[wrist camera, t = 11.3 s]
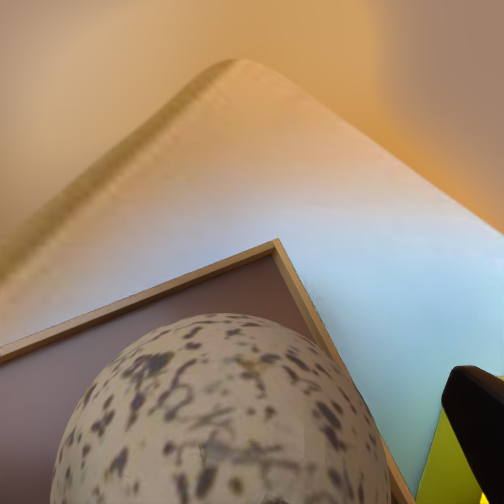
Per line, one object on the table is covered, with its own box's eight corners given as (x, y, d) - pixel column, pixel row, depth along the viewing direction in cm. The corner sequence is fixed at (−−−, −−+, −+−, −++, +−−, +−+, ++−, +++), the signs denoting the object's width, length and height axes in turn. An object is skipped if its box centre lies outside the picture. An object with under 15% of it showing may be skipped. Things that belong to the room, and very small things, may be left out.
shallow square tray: (364, 499, 18) (429, 527, 14) (83, 690, 14) (49, 814, 10) (253, 274, 21) (278, 237, 16) (-9, 384, 17) (-69, 374, 12)
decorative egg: (109, 333, 15) (23, 202, 5) (305, 349, 16) (505, 264, 7) (65, 584, 12) (-242, 1141, 3) (305, 581, 13) (632, 963, 4)
